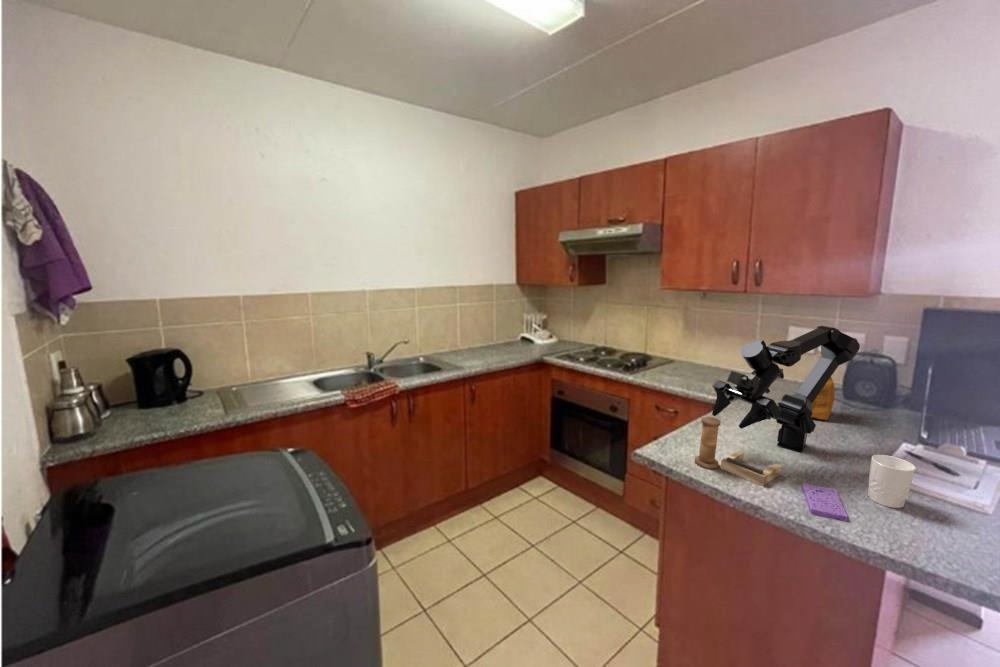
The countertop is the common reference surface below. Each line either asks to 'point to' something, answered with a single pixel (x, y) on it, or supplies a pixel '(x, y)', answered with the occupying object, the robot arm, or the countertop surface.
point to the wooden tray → (749, 469)
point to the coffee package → (824, 401)
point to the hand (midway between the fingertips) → (726, 421)
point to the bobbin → (708, 443)
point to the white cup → (890, 480)
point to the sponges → (824, 502)
